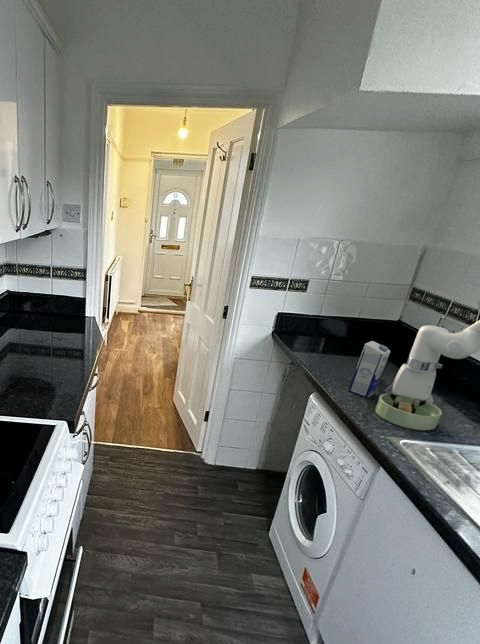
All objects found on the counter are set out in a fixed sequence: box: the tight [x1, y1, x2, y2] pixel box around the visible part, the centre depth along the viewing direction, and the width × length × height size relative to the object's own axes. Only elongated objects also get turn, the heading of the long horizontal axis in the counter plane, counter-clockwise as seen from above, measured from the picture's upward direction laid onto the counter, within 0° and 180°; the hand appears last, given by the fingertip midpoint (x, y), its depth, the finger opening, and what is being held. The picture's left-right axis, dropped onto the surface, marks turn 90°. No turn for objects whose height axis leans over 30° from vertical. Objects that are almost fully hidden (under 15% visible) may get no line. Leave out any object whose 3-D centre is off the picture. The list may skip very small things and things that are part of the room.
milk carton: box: [347, 340, 391, 399], centre depth 154 cm, size 7×7×20 cm
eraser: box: [398, 401, 412, 413], centre depth 140 cm, size 4×6×4 cm, turn 149°
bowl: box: [374, 393, 443, 431], centre depth 139 cm, size 17×17×6 cm
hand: (401, 414), depth 140 cm, fingers closed on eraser, 3 cm apart
